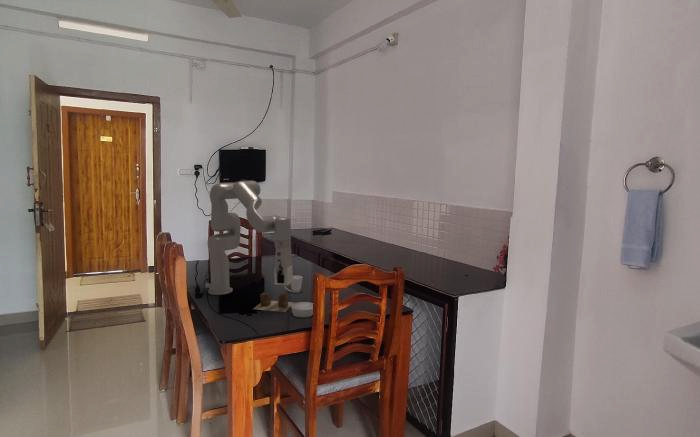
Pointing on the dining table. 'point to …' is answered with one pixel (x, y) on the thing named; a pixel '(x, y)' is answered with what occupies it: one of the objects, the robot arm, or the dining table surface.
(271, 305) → the post board
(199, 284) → the dining table surface
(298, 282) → the cup
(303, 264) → the dining table surface
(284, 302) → the post
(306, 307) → the ramekin
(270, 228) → the robot arm
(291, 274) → the matte grey cube
